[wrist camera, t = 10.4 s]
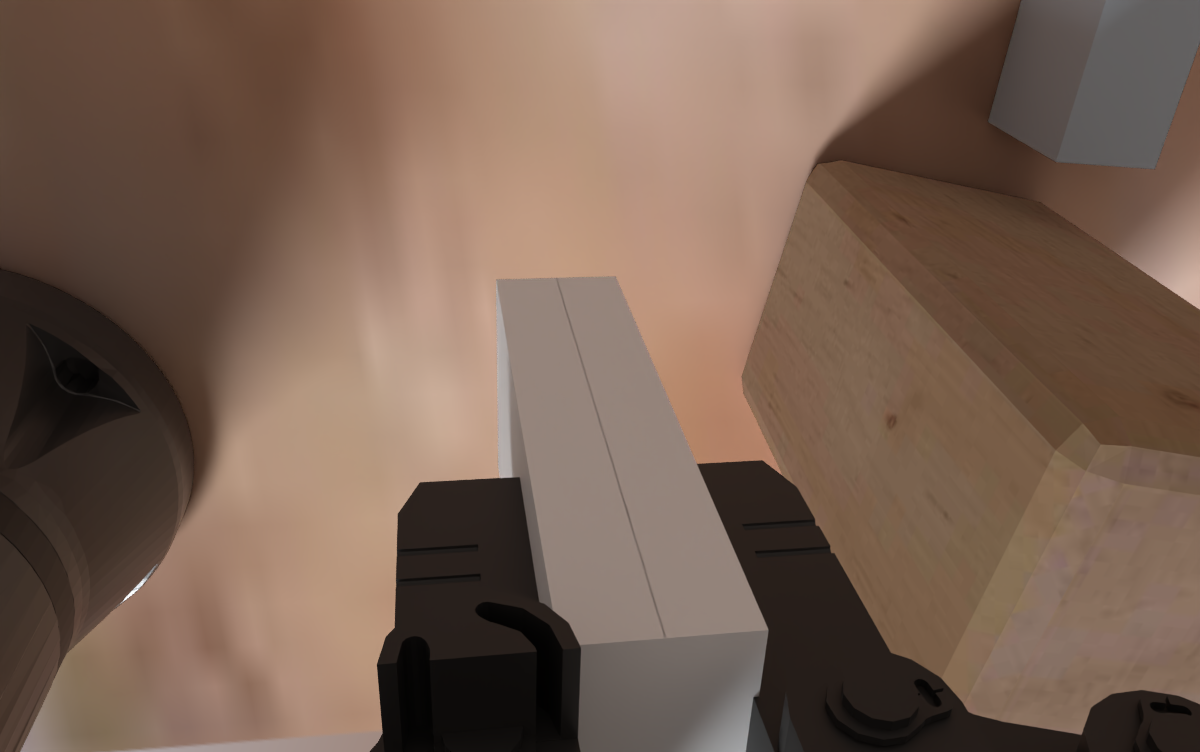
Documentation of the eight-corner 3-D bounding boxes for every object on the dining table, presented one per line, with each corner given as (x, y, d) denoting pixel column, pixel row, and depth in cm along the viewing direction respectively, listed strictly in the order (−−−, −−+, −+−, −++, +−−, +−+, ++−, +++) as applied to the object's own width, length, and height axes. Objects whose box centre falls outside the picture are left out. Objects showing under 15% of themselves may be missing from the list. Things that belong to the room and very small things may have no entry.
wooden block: (807, 146, 38) (1102, 434, 20) (1050, 198, 40) (1509, 500, 22) (728, 386, 42) (916, 793, 25) (951, 421, 44) (1270, 820, 27)
